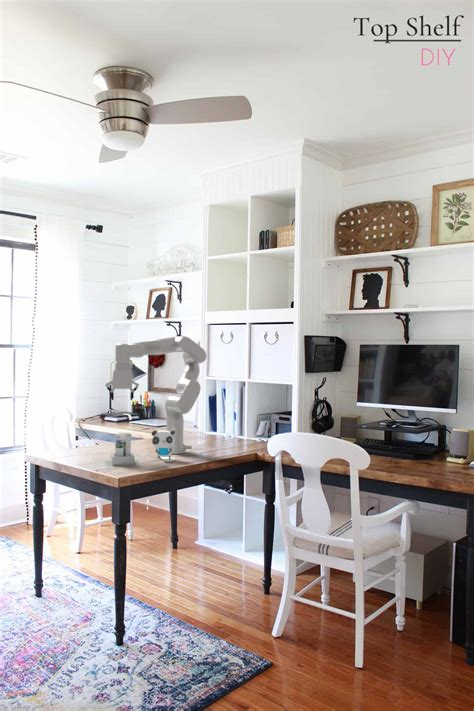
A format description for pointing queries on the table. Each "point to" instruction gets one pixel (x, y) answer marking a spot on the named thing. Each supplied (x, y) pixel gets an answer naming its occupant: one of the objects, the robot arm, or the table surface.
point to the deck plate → (108, 463)
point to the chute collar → (122, 459)
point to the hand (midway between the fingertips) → (122, 400)
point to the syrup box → (123, 444)
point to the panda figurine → (163, 444)
